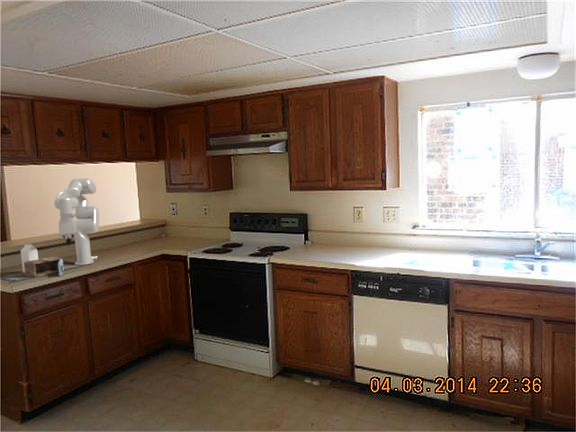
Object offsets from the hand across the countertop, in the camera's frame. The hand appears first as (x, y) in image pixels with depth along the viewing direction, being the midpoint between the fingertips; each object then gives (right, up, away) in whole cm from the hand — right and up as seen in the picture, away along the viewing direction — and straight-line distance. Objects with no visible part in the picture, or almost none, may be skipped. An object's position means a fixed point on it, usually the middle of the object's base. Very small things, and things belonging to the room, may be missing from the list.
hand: (69, 244), depth 290 cm
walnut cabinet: (-20, -19, +6) cm, 28 cm away
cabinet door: (-5, -19, +1) cm, 19 cm away
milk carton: (-32, -20, +12) cm, 40 cm away
